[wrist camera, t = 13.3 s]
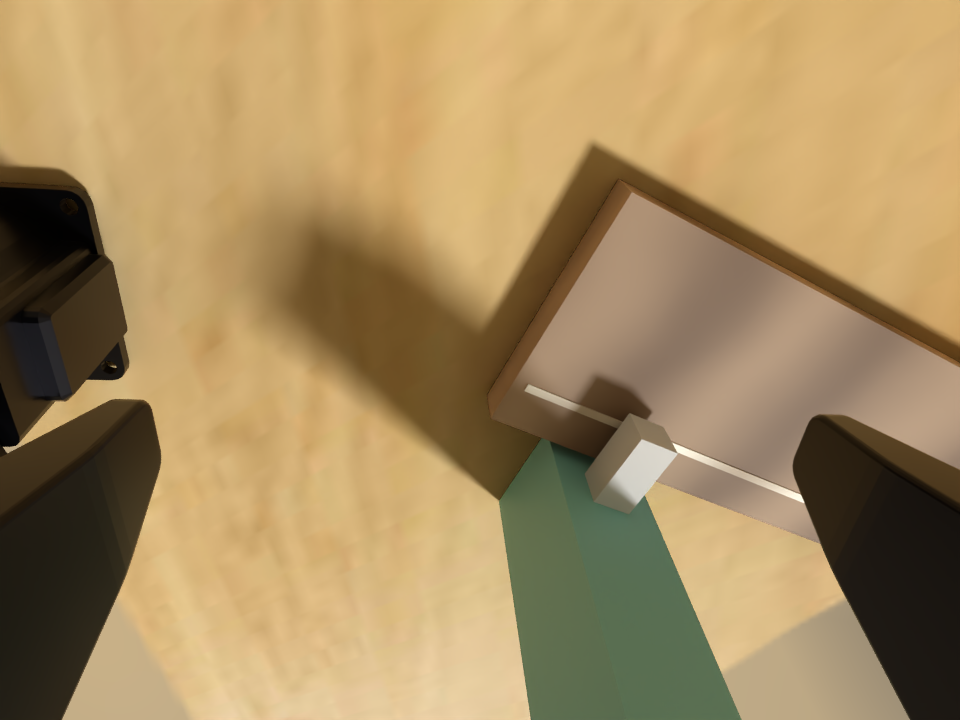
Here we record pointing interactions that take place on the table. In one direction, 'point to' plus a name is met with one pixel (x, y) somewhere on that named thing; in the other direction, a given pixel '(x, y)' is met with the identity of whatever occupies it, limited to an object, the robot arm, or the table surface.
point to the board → (714, 361)
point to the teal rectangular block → (604, 588)
